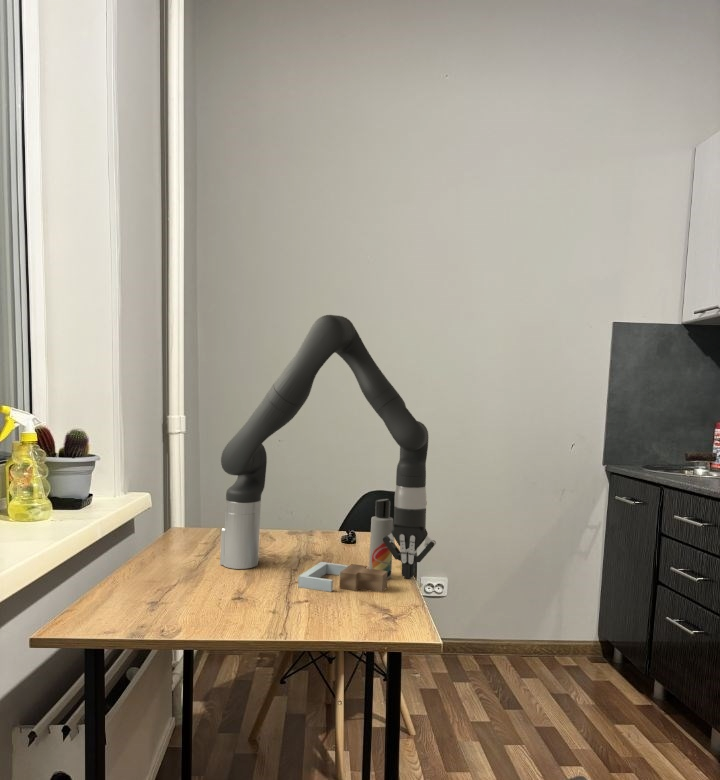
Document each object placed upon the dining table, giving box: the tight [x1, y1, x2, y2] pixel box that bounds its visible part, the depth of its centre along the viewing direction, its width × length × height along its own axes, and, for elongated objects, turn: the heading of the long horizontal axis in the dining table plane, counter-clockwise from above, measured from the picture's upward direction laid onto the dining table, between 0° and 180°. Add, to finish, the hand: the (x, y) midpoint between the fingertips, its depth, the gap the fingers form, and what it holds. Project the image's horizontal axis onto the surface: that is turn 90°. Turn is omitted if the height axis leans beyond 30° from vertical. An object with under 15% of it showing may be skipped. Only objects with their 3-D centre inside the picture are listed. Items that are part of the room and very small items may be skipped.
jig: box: [297, 561, 349, 593], centre depth 143 cm, size 8×14×2 cm, turn 161°
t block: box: [339, 563, 388, 593], centre depth 140 cm, size 10×8×4 cm
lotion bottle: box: [368, 498, 394, 580], centre depth 149 cm, size 6×6×20 cm
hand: (408, 578), depth 136 cm, fingers closed
